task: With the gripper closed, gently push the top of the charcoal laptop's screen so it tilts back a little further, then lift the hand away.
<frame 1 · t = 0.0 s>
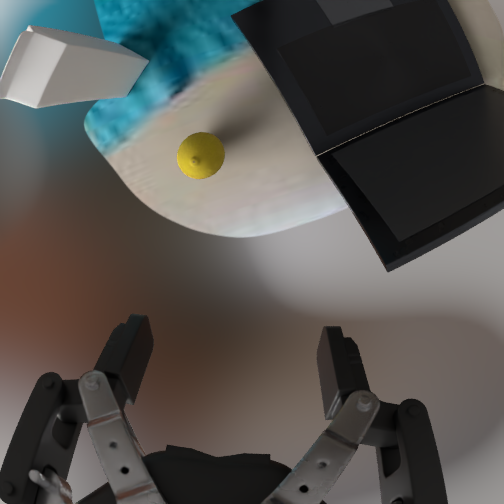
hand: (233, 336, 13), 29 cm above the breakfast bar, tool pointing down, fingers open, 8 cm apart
lemon: (207, 149, 38), on the breakfast bar
laptop: (373, 41, 29), on the breakfast bar
laptop screen: (461, 140, 23), point 12 cm above the breakfast bar, hinge at 100.0°
milk: (122, 69, 32), on the breakfast bar
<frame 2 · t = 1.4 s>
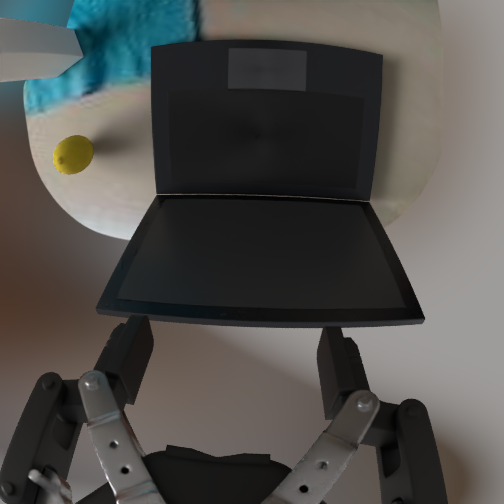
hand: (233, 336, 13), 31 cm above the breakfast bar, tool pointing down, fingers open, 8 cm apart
lemon: (88, 148, 39), on the breakfast bar
laptop: (265, 116, 37), on the breakfast bar
laptop screen: (263, 245, 32), point 12 cm above the breakfast bar, hinge at 100.0°
milk: (65, 53, 31), on the breakfast bar
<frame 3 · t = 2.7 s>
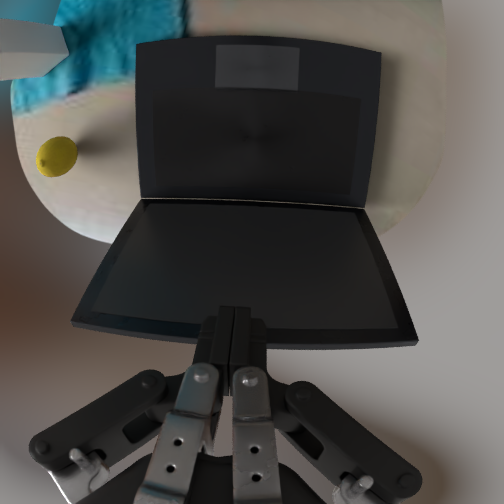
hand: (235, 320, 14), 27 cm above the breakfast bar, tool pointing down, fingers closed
lemon: (73, 149, 37), on the breakfast bar
laptop: (255, 117, 34), on the breakfast bar
laptop screen: (247, 256, 30), point 12 cm above the breakfast bar, hinge at 100.0°
milk: (51, 51, 29), on the breakfast bar
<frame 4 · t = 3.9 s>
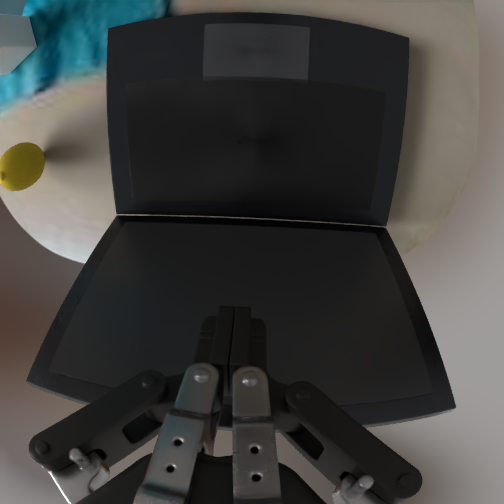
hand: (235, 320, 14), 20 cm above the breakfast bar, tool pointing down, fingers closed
lemon: (41, 157, 29), on the breakfast bar
laptop: (254, 114, 27), on the breakfast bar
laptop screen: (243, 297, 23), point 12 cm above the breakfast bar, hinge at 100.0°
milk: (19, 45, 21), on the breakfast bar
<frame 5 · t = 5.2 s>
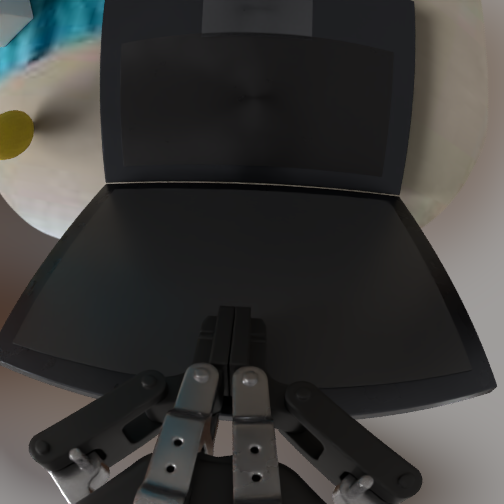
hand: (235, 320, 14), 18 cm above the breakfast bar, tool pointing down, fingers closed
lemon: (31, 128, 26), on the breakfast bar
laptop: (255, 72, 24), on the breakfast bar
laptop screen: (243, 260, 20), point 12 cm above the breakfast bar, hinge at 100.5°, touching gripper
milk: (16, 18, 18), on the breakfast bar
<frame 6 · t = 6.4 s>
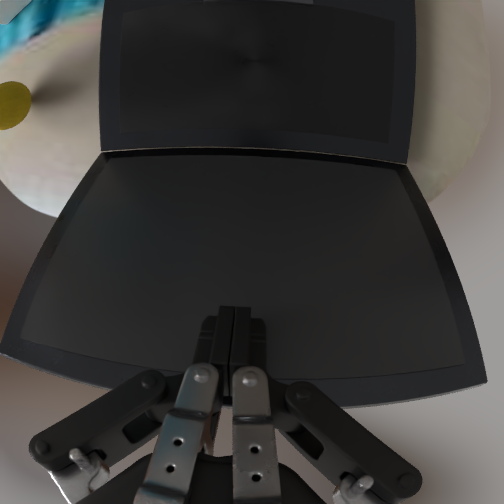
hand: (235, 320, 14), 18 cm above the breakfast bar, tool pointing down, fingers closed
lemon: (29, 101, 24), on the breakfast bar
laptop: (256, 39, 22), on the breakfast bar
laptop screen: (244, 238, 19), point 11 cm above the breakfast bar, hinge at 112.6°, touching gripper
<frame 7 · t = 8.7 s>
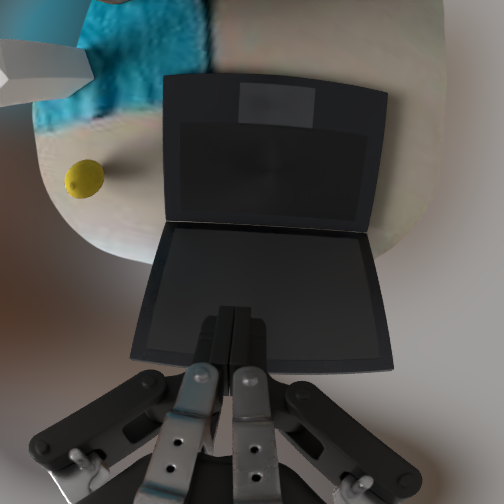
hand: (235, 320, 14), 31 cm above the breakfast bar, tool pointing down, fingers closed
lemon: (98, 171, 41), on the breakfast bar
laptop: (273, 150, 40), on the breakfast bar
laptop screen: (267, 290, 37), point 11 cm above the breakfast bar, hinge at 113.1°
milk: (75, 73, 34), on the breakfast bar
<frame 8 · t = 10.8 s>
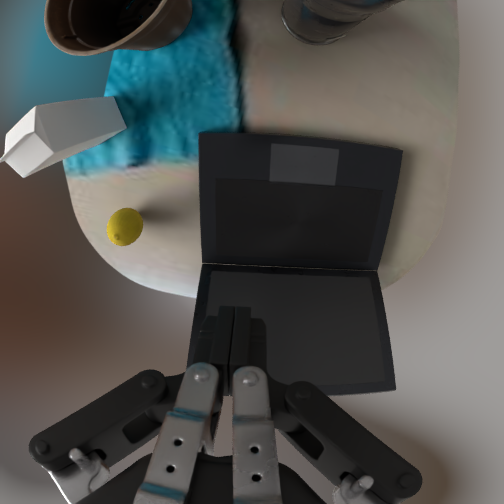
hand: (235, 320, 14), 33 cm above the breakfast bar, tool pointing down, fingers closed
lemon: (134, 216, 48), on the breakfast bar
plant pot: (153, 17, 32), on the breakfast bar
laptop: (299, 202, 46), on the breakfast bar
laptop screen: (294, 327, 43), point 11 cm above the breakfast bar, hinge at 113.1°
milk: (106, 120, 40), on the breakfast bar
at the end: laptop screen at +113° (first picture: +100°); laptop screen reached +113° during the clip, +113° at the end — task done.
